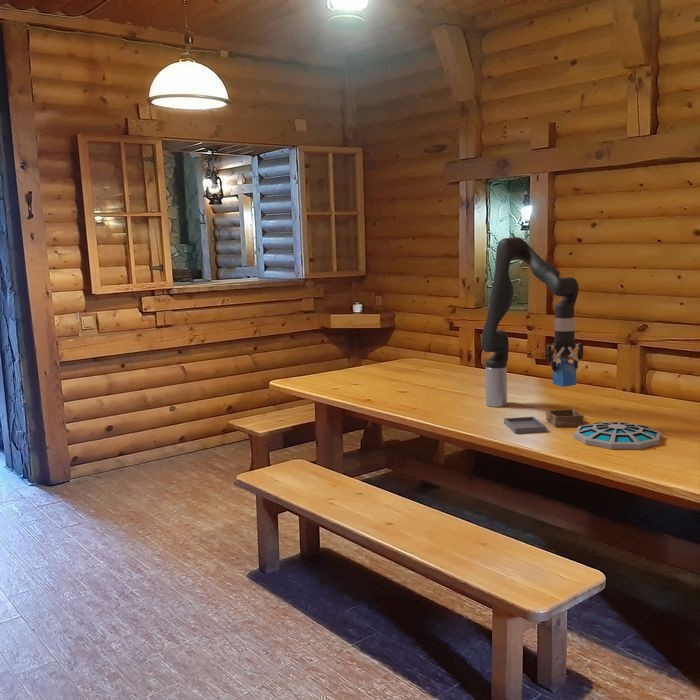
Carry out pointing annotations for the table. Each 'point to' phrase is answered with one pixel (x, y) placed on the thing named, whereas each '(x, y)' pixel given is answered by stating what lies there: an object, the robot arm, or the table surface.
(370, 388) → the table surface
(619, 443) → the decorative platform
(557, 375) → the perfume bottle
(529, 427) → the tray
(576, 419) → the holder
